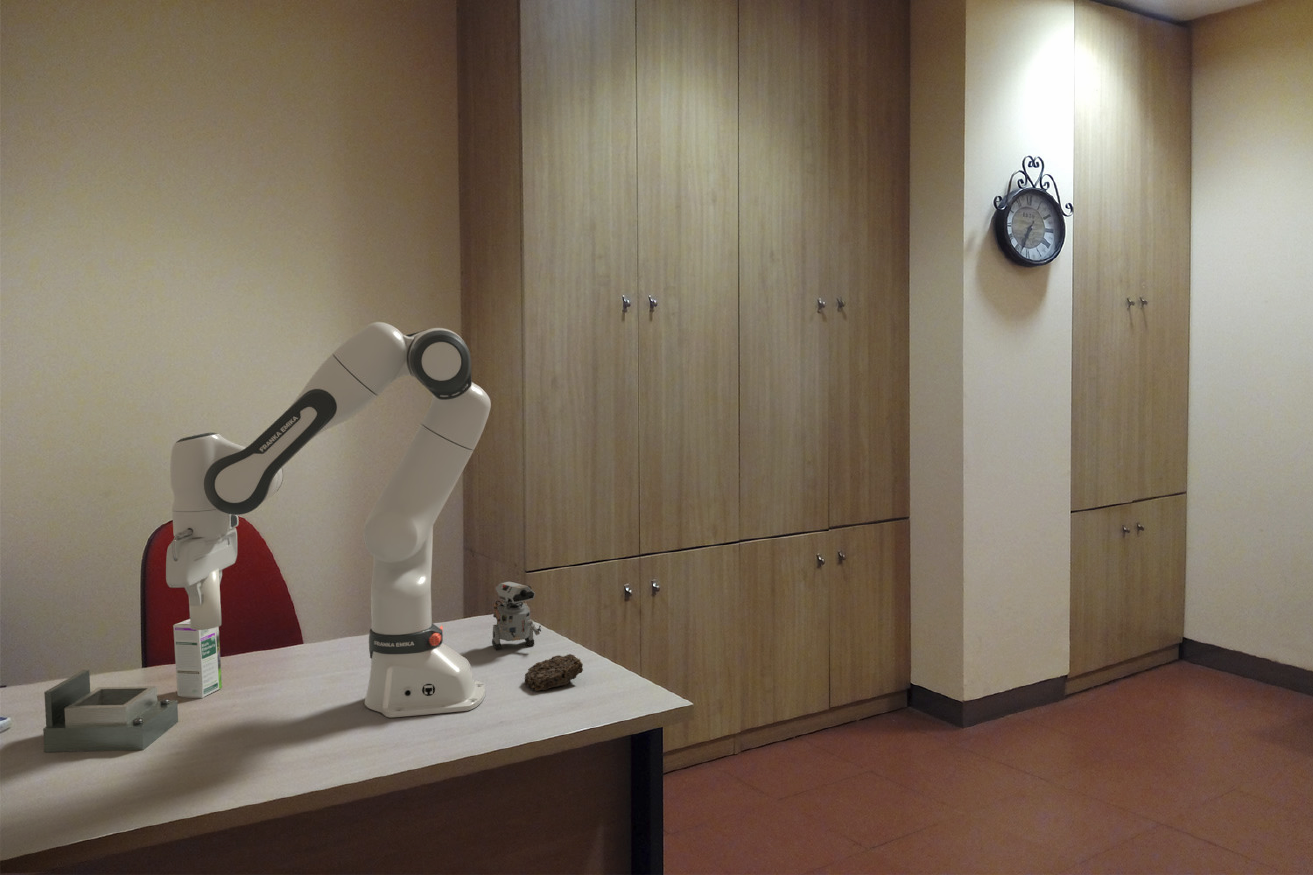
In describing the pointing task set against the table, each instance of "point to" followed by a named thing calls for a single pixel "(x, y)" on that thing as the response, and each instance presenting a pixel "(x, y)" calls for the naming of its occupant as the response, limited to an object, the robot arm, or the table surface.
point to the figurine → (513, 614)
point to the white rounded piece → (207, 605)
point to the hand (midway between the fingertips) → (205, 600)
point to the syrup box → (197, 660)
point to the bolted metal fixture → (104, 716)
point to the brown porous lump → (553, 672)
